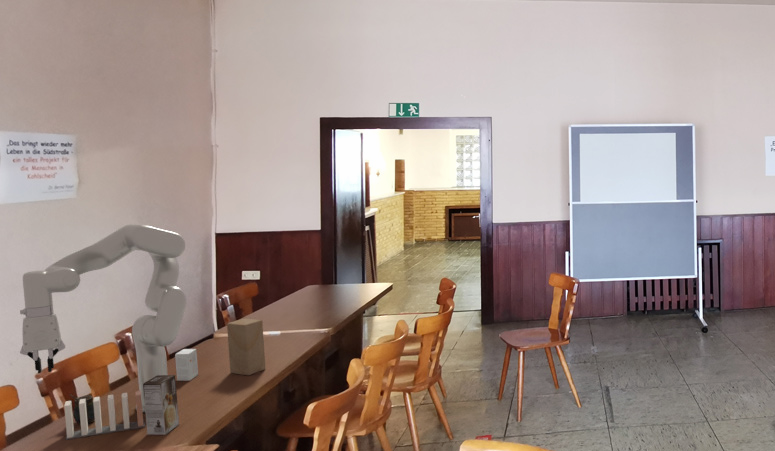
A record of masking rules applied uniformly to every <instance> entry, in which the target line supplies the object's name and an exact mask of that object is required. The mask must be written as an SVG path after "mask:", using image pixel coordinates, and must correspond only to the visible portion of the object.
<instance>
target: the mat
mask: <svg viewBox="0 0 775 451" xmlns="http://www.w3.org/2000/svg"><path fill="white" fill-rule="evenodd" d="M142 428H143V429H144V428H146V419H143V426H140V427H138V420H137V421H131V422H130V428H127V429H124V423H120V424H119V423H118V424H116V430H115V431H110V425H106V426H102V433H96V427H93V428H88V434H87V435H83V436H82V433H81V429H79V430H74V434H73V437H71V438H67V434H66V435H65V441H66V440H67V441H68V440H73V439H79V438H80V439H81V438H84V437H91V436H99V435H103V434H111V433H116V432H123V431H124V432H125V431H130V430H135V429H142Z"/></svg>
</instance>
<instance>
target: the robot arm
mask: <svg viewBox="0 0 775 451" xmlns="http://www.w3.org/2000/svg"><path fill="white" fill-rule="evenodd" d="M185 250H186V241H185V239H184V237H183V236H182V235H181V234H180V233H177V232H173V231H169V230H167V229H166V230H165V229H161V228H157V227H153V226H151V225H146V224H126V225H124V226H122V227H121V228H118V229H116V231H114V232H112V233H110V234H109V235H107V236H105V237H104V238H102V239H100V240H99V241H97V242H95V243H93V244H90V245H88V246H86V247H84V248H82V249H79V250H78V251H75V252H73V253H70V254H69V255H66V256H65V257H63V258H61V259H59V260H57V261H56V262H54V263H52V264H51V265H49V266H48V267H46V269H44V270H33V271H27V272H24V274H23V275H22V288H23V297H24V298H23V299H24V306H25V307H24V308H23V309H20V310H19V313H20V315H23V316H25V317H23V318H22V319H23V320H22V330H21V331H22V346H21V348H20V351H19V353H20V354H21V355H24V356H28V357H29V358H30V359H32V360H33V361H34V366H35V367H34V368H35V371H37V374H38V375H39V374H42V371H43V369H42V358H40V356H39V351H44V350H45V351H47V353H48V356H47V361H46V362H47V371H48V373H52V370H53V369H54V368H55V367H54V366H55V363H54V357H55V356H56V355H57V354H58V353H59V352H61V351H62V350H64V349H66V344H65V343H64V341H63V339H62V336H61V330H60V325H59V324H60V323H59V320H58V317H57V314H56V313H54V303H53V293H54V294H55V293H68V292H72V291H74V290H76V289H77V288H78V287H79V285H80V283H81V277H80V276H81V275H83V274H85V273H89V272H92V271H97V270H102V269H105V268H108V267H111V266H112V265H113V264H115V263H116V262H118V261H120V260H121V259H123V258H124V257H125V256H127V255H129V254H130V253H133V252H135V251H142V252H147V253H148V254H149V256H150V258H151V259H152V263H153V271H152V276H151V279H150V281H149V285H148V288H147V292H146V295H145V297H144V298H145V299H144V303H145V307H146V309H148V310H150V311H152V312H155V313H156V315H152V314H145V315H142V316H139V317H138V318H136V319H135V321H134V323H133V324H132V327H131V334H132V340H133V344H134V347H135V353H136V365H137V366H136V367H137V376H138V391H141V400H142V412H143V413H146V412H145V401H144V390H143V384H144V383H145V382H147V381H149V380H150V379H152V378H154V377H155V376H157V375H169V374H168V366H167V364H168V361H167V360H168V359H167V353H166V348H165V347H168V346H170V345H171V344H173V343H174V341H175V340H176V339H177V336H178V334H179V330H180V328H181V324H182V321H183V318H184V315H185V311H186V307H187V297H186V294H185V291H184V290H183V289H181V288H180V287H178V286H177V284H178V279H179V275H180V264H179V261H178V258H179V257H180V256H181V255H182V254H183V253H184V252H185ZM135 410H136V411H137V407H136V406H135Z"/></svg>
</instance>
